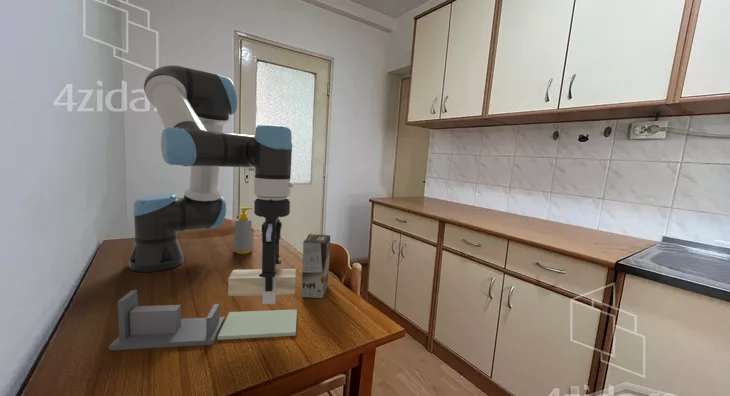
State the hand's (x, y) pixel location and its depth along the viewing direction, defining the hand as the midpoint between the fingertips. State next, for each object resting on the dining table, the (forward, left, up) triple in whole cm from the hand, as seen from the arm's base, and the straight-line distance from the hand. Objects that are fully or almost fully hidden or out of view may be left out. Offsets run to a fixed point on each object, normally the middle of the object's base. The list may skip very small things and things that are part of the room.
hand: (270, 297), depth 69 cm
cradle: (+2, -20, -7) cm, 21 cm away
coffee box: (-17, +11, -7) cm, 21 cm away
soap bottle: (-54, -16, -7) cm, 57 cm away
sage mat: (0, -2, -7) cm, 7 cm away
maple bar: (0, -1, +2) cm, 2 cm away
